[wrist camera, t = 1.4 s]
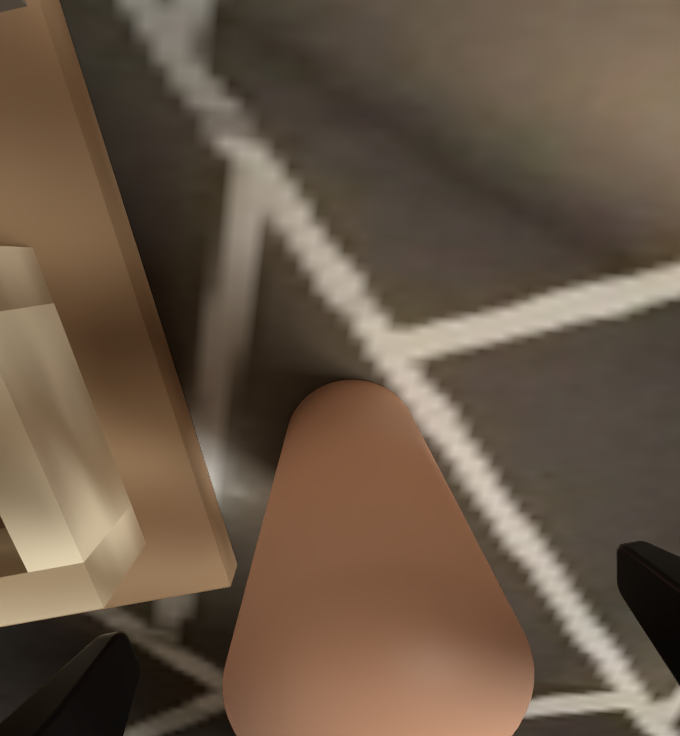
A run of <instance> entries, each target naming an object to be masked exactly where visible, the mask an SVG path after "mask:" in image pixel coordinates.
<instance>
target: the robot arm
mask: <svg viewBox="0 0 680 736" xmlns="http://www.w3.org/2000/svg"><path fill="white" fill-rule="evenodd" d="M616 558H617V585H618V588H619V591H620V593H621V595H622V597H623V599H624V600H625V602H626V603H627V605H628V606H629V608H630V610H631V611H632V613H633V614H634V616H635V617H636V619H637V620H638V622H639V624H640V625H641V627H642V628H643V630H644V631H645V633H646V634H647V636H648V637H649V639H650V641H651V642H652V644H653V645H654V647H655V648H656V650H657V651H658V653H659V655H660V656H661V658H662V659H663V661H664V662H665V664H666V665H667V667H668V669H669V670H670V672H671V673H672V675H673V676H674V678H675V679H676V681H677V682H678V684H679V685H680V557H679V556H677V555H674V554H672V553H670V552H668V551H665V550H663V549H661V548H659V547H657V546H654V545H652V544H650V543H647V542H644V541H636V542H630V543H624V544H621V545H619V546H618V548H617V552H616ZM139 673H140V668H139V663H138V660H137V658H136V655H135V653H134V650H133V648H132V646H131V643H130V641H129V639H128V636H127V635H126V634H125V633H124V632H121V631H118V632H112V633H107V634H103V635H100V636H98V637H97V638H96V639H94V640H93V641H92V642H91V643H90V644H89V645H88V646H87V647H85V648H84V649H83V650H82V651H81V652H80V653H79V654H78V655H76V656H75V657H74V658H73V659H72V660H71V661H70V662H69V663H67V664H66V665H65V666H64V667H63V668H62V669H61V670H60V671H58V672H57V673H56V674H55V675H54V676H53V677H52V678H51V679H50V680H48V681H47V682H46V683H45V684H44V685H43V686H42V687H41V688H39V689H38V690H37V691H36V692H35V693H34V694H33V695H32V696H30V697H29V698H28V699H27V700H26V701H25V702H24V703H23V704H21V705H20V706H19V707H18V708H17V709H16V710H15V711H14V712H12V713H11V714H10V715H9V716H8V717H7V718H6V719H5V720H3V721H2V722H1V723H0V736H123V734H124V731H125V727H126V723H127V720H128V716H129V713H130V709H131V705H132V702H133V698H134V695H135V691H136V687H137V684H138V680H139Z"/></svg>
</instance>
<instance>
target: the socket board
mask: <svg viewBox="0 0 680 736" xmlns="http://www.w3.org/2000/svg"><path fill="white" fill-rule="evenodd" d="M236 568H237V562H236V559H235V556H234V553H233V550H232V546H231V543H230V540H229V537H228V534H227V531H226V527H225V524H224V521H223V518H222V515H221V512H220V508H219V505H218V502H217V499H216V496H215V492H214V489H213V486H212V483H211V480H210V477H209V473H208V470H207V467H206V464H205V461H204V458H203V454H202V451H201V448H200V445H199V442H198V439H197V435H196V432H195V429H194V426H193V423H192V420H191V416H190V413H189V410H188V407H187V404H186V401H185V397H184V394H183V391H182V388H181V385H180V382H179V378H178V375H177V372H176V369H175V366H174V363H173V359H172V356H171V353H170V350H169V347H168V344H167V340H166V337H165V334H164V331H163V328H162V325H161V321H160V318H159V315H158V312H157V309H156V306H155V302H154V299H153V296H152V293H151V290H150V287H149V283H148V280H147V277H146V274H145V271H144V268H143V264H142V261H141V258H140V255H139V252H138V249H137V245H136V242H135V239H134V236H133V233H132V230H131V226H130V223H129V220H128V217H127V214H126V211H125V207H124V204H123V201H122V198H121V195H120V192H119V188H118V185H117V182H116V179H115V176H114V173H113V169H112V166H111V163H110V160H109V157H108V154H107V150H106V147H105V144H104V141H103V138H102V134H101V131H100V128H99V125H98V122H97V119H96V115H95V112H94V109H93V106H92V103H91V100H90V96H89V93H88V90H87V87H86V84H85V81H84V77H83V74H82V71H81V68H80V65H79V62H78V58H77V55H76V52H75V49H74V46H73V43H72V39H71V36H70V33H69V30H68V27H67V24H66V20H65V17H64V14H63V11H62V8H61V5H60V1H59V0H0V627H4V626H10V625H15V624H21V623H27V622H32V621H38V620H44V619H49V618H55V617H61V616H66V615H72V614H78V613H83V612H89V611H95V610H101V609H106V608H112V607H118V606H123V605H129V604H135V603H140V602H146V601H152V600H157V599H163V598H169V597H174V596H180V595H186V594H192V593H197V592H203V591H209V590H214V589H220V588H226V587H231V584H232V581H233V577H234V574H235V571H236Z"/></svg>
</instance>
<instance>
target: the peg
mask: <svg viewBox="0 0 680 736" xmlns="http://www.w3.org/2000/svg"><path fill="white" fill-rule="evenodd" d="M533 686H534V663H533V657H532V651H531V649H530V646H529V643H528V640H527V638H526V635H525V633H524V631H523V630H522V628H521V626H520V624H519V622H518V620H517V618H516V616H515V614H514V612H513V610H512V608H511V606H510V604H509V603H508V601H507V599H506V597H505V595H504V593H503V591H502V589H501V587H500V585H499V583H498V581H497V579H496V577H495V576H494V574H493V572H492V570H491V568H490V566H489V564H488V562H487V560H486V558H485V556H484V554H483V552H482V550H481V549H480V547H479V545H478V543H477V541H476V539H475V537H474V535H473V533H472V531H471V529H470V527H469V525H468V523H467V522H466V520H465V518H464V516H463V514H462V512H461V510H460V508H459V506H458V504H457V502H456V500H455V498H454V496H453V494H452V493H451V491H450V489H449V487H448V485H447V483H446V481H445V479H444V477H443V475H442V473H441V471H440V469H439V467H438V466H437V464H436V462H435V460H434V458H433V456H432V454H431V452H430V450H429V448H428V446H427V444H426V442H425V440H424V439H423V437H422V435H421V433H420V431H419V429H418V427H417V425H416V423H415V421H414V419H413V417H412V415H411V414H410V412H409V410H408V408H407V407H406V405H405V404H404V403H403V402H402V400H401V399H400V398H399V397H398V396H397V395H395V394H394V393H393V392H391V391H390V390H388V389H386V388H385V387H383V386H381V385H378V384H376V383H373V382H369V381H364V380H341V381H336V382H332V383H329V384H326V385H324V386H322V387H320V388H318V389H316V390H314V391H313V392H312V393H310V394H309V395H308V396H307V397H306V398H304V399H303V400H302V401H301V403H300V404H299V405H298V406H297V408H296V409H295V411H294V413H293V414H292V416H291V419H290V421H289V424H288V428H287V432H286V436H285V439H284V443H283V447H282V451H281V455H280V458H279V462H278V466H277V470H276V474H275V477H274V481H273V485H272V489H271V493H270V497H269V500H268V504H267V508H266V512H265V516H264V519H263V523H262V527H261V531H260V535H259V538H258V542H257V546H256V550H255V554H254V558H253V561H252V565H251V569H250V573H249V577H248V580H247V584H246V588H245V592H244V596H243V599H242V603H241V607H240V611H239V615H238V619H237V622H236V626H235V630H234V634H233V638H232V641H231V645H230V649H229V653H228V657H227V661H226V664H225V668H224V672H223V685H222V691H223V701H224V706H225V710H226V713H227V717H228V719H229V722H230V724H231V726H232V728H233V730H234V732H235V734H236V735H237V736H512V735H513V733H514V732H515V731H516V729H517V728H518V727H519V725H520V723H521V721H522V719H523V717H524V715H525V714H526V711H527V709H528V706H529V703H530V700H531V697H532V691H533Z"/></svg>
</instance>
